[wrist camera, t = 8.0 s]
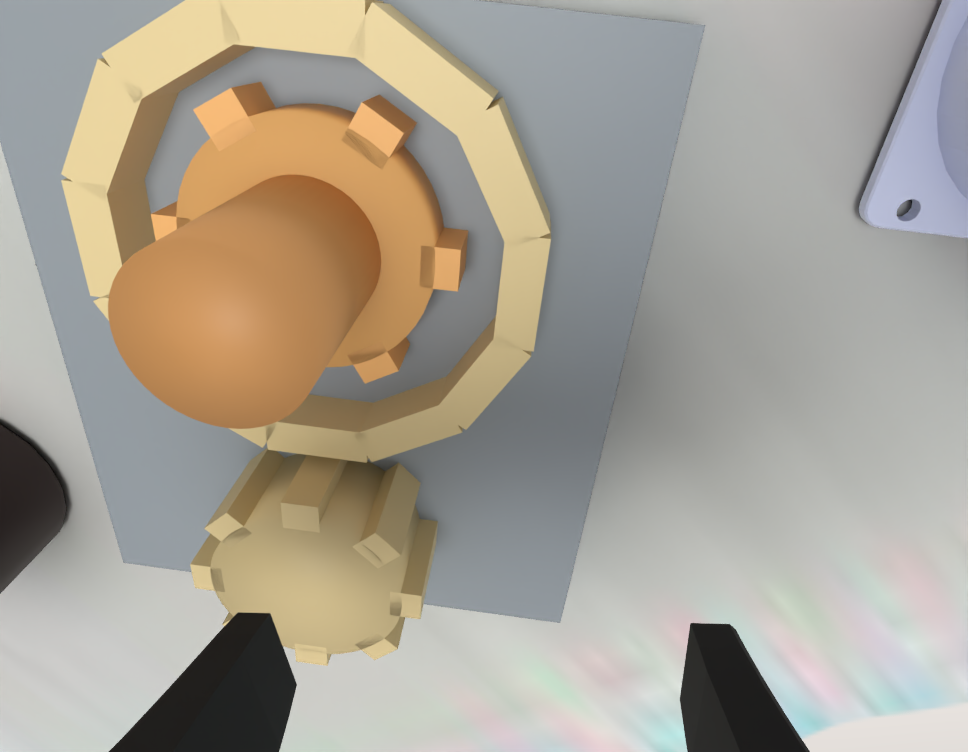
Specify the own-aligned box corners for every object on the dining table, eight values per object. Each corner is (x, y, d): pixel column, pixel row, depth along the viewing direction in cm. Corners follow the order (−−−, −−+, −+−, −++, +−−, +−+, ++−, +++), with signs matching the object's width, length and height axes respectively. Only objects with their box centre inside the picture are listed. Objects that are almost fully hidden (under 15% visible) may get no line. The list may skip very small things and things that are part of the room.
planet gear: (477, 105, 13) (435, 156, 8) (457, 365, 17) (418, 518, 12) (164, 70, 14) (-69, 99, 8) (206, 335, 17) (58, 470, 12)
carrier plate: (690, 24, 14) (747, 25, 10) (559, 589, 23) (562, 703, 19) (-3, -52, 14) (-212, -80, 10) (146, 533, 24) (67, 634, 20)
